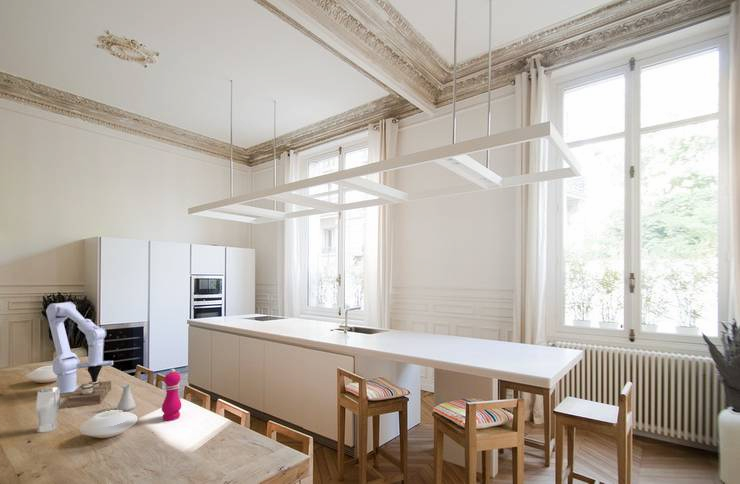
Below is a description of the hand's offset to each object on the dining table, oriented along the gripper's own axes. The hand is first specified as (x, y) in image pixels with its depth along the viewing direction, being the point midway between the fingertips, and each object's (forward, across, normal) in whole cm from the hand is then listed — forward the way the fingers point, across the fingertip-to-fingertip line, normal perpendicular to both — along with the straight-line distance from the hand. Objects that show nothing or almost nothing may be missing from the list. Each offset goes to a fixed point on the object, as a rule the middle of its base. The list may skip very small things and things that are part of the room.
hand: (94, 381), depth 185 cm
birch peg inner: (+4, 0, 0) cm, 4 cm away
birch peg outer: (+2, 0, -12) cm, 12 cm away
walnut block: (+6, 0, -6) cm, 8 cm away
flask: (+6, +18, -28) cm, 34 cm away
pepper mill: (+6, +37, -47) cm, 60 cm away
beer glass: (+6, -6, -40) cm, 41 cm away
